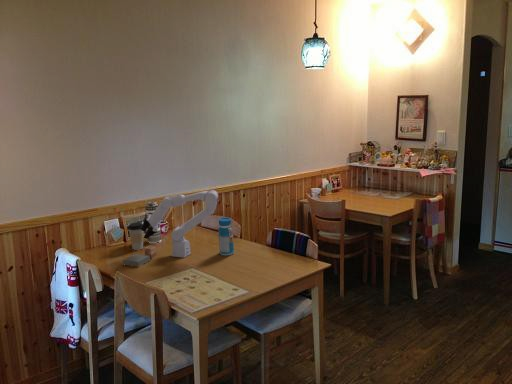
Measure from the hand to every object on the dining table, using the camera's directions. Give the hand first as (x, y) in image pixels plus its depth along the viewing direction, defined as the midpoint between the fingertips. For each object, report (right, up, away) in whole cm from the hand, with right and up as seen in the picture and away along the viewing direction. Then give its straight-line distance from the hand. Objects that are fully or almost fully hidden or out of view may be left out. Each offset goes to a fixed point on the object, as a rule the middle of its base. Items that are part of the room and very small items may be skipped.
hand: (144, 234), depth 261 cm
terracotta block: (+4, -13, -2) cm, 14 cm away
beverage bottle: (+47, -11, +1) cm, 48 cm away
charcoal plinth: (-1, -15, -10) cm, 18 cm away
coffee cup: (-7, -10, +15) cm, 19 cm away
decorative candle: (0, -7, +29) cm, 30 cm away
